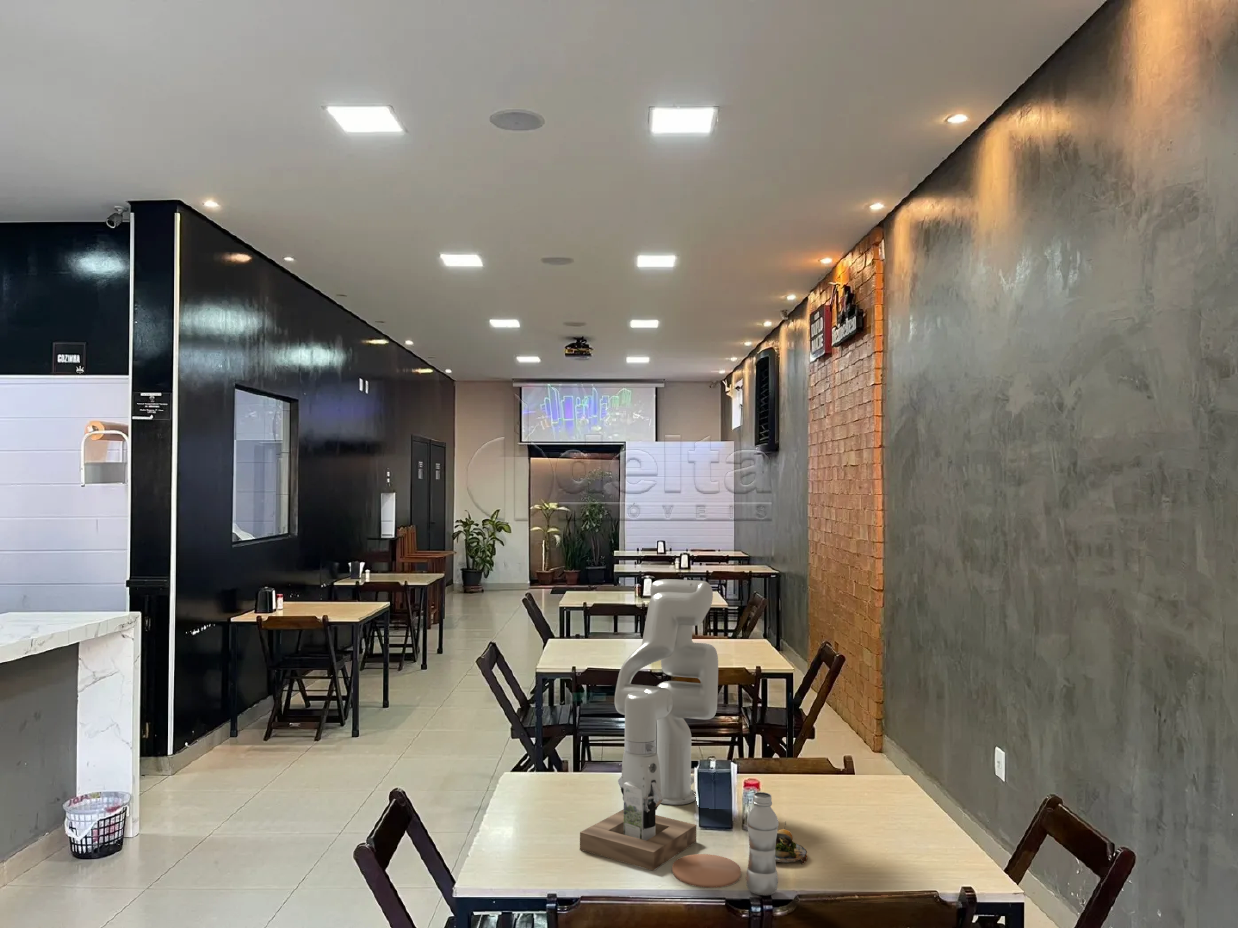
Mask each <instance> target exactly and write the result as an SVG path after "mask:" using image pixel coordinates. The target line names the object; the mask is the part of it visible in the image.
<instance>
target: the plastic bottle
mask: <svg viewBox="0 0 1238 928" xmlns="http://www.w3.org/2000/svg"><path fill="white" fill-rule="evenodd" d="M752 803H753V807H752V808H751V809H750V811H749V813H748V815H747V818H746V824H747V832H748V850H749V852H748V863H747V869H746V873H745V881H746V887H747V888H748V890H749V891H750V892H751V893H752V894H755V895H759V896H770V895H773V894H774V893H775V892H776V891H777V889H778V884H779V878H778V872H777V863H776V862H777V861H776V859H775V848H776V837H777V831H778V830H779V824H780V823H779V819H778V816H777V815H776V812H775V811H774V810H773V808H772V805H773V801H772V794H771V793H768V792H763V791H758V792H757V791H756V792H754V793H753V801H752Z"/></svg>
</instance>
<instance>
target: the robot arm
mask: <svg viewBox="0 0 1238 928" xmlns="http://www.w3.org/2000/svg"><path fill="white" fill-rule="evenodd" d="M649 590H650V592H649V594H650V599H649V603H648V607H647V613H646V619H645V625H644V630H643V636H642V642H641V644H640V646H639V647H638V648H637V649H635V650H634V651H633V652H632V653H630V655H629V656H628V657H627V658H626V660H625V661H624V663H622V666H621V668H620V669H619V673H618V677H617V681H616V685H615V692H614V706H615V710H616V712H617V713H618V714H620V715H623V716H624V750H623V755H622V762H621V764H622V765H621V775H620V776H621V777H619V779H618V780H617V783H618V785H619V787H620V792H621V794H622V800H623V802H624V783H626V782H628V783H629V784H631V785H633V786H635V787H637V788H639V789H641V791H642V798H643V799H644V807H645V810H646V811H644V812H643V828H645V829H647V828H651V827H654V826H655V815H657V814H656V811H657V810H658V808H659V806H660V805H661V804H665V805H670V806H671V805H672V806H673V805H674V806H677V805H678V806H679V805H686V804H690V803H693V802H695V801H696V800H695V794H694V792H695V790H694V789H692V787H691V786H692V785H693V784H694V776H695V775H692V733H691V729H690V727H689V725H688V723H687V722H686V720H685V719H695V720H711V719H713V718H714V717H715V715H716V713H717V710H718V698H719V697H718V695H719V693H718V692H719V690H718V689H719V687H718V686H719V656H718V655H719V654H718V652H717V649H716V647H715V646H714V645H712V644H710V643H704V642H703V643H702V642H693V627H694V626H699V625H700V624H701V623H703V621H704V619H705V617H706V616H707V614H708V612H709V611H710V609H711V606H712V604H713V598H714V596H713V594H714V593H713V592H714V591H713V588H712V586H711V584H710V583H709V582H707V581H705V580H695V579H694V580H692V579H690V580H689V579H675V578H674V579H669V578H668V579H667V578H664V579H657V580H655V581H653V582H652V583H651V585H650V589H649ZM659 661H660V666H661V667H660V668H661V671H662V672H663V673H664V674H665V675H667V676H670V677H671V676H673V677H681V678H693V679H694V678H695V679H698V680H699V681H700V683H699V682H687V681H679V680H678V681H677V680H668V681H667V680H666V681H663V682H660V683H659V684H657V685H656V686H655V685H654V686H653V685H647V684H646V685H643V684H635V683H634V684H632V680H633V678H634V677H635V675H636V674H637V673H638V672H639V671H640V670H641V669H643V668H645V667H647V666H649V665H651V664H654V663H656V662H659ZM648 794H650V796H649V797H648ZM649 799H651V803H650V804H649V803H648V800H649ZM694 800H695V801H694Z"/></svg>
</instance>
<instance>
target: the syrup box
mask: <svg viewBox="0 0 1238 928" xmlns="http://www.w3.org/2000/svg"><path fill="white" fill-rule="evenodd" d="M649 796H650V794H648V797H649ZM648 803H649V804H650V803H651V799H649V800H648ZM623 809H624V835H627V836H631V837H634V838H638V839H642V840H646V841H647V840H648V839H650V838H652V837H653V836H655V835H656V832H655V826H654V827H651V828H647V829H645V828H643V812H644V811H646V810H645V807H644V799H643V798H642V791H641V789H639V788H637V787H635V786H633V785H631V784H629V783H628V782H626V783H624V801H623Z"/></svg>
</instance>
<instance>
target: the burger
mask: <svg viewBox="0 0 1238 928" xmlns="http://www.w3.org/2000/svg"><path fill="white" fill-rule="evenodd" d="M786 822H787V821H785V822H784V826H786ZM793 838H794V836H793V834H792V833H791V831H790V830H787V829H786V827H784V828H782V829H781V828H780V829H778V831H777V837H776V848H775V859H776V862H779V863H795V862H797V861H800V860H801V862H800V864H801V865H803V864H805V862H807V858H808V851H807V850H806V848H805V847H804V846H802V845H801V844H798V843H796V842H794V840H793Z"/></svg>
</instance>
